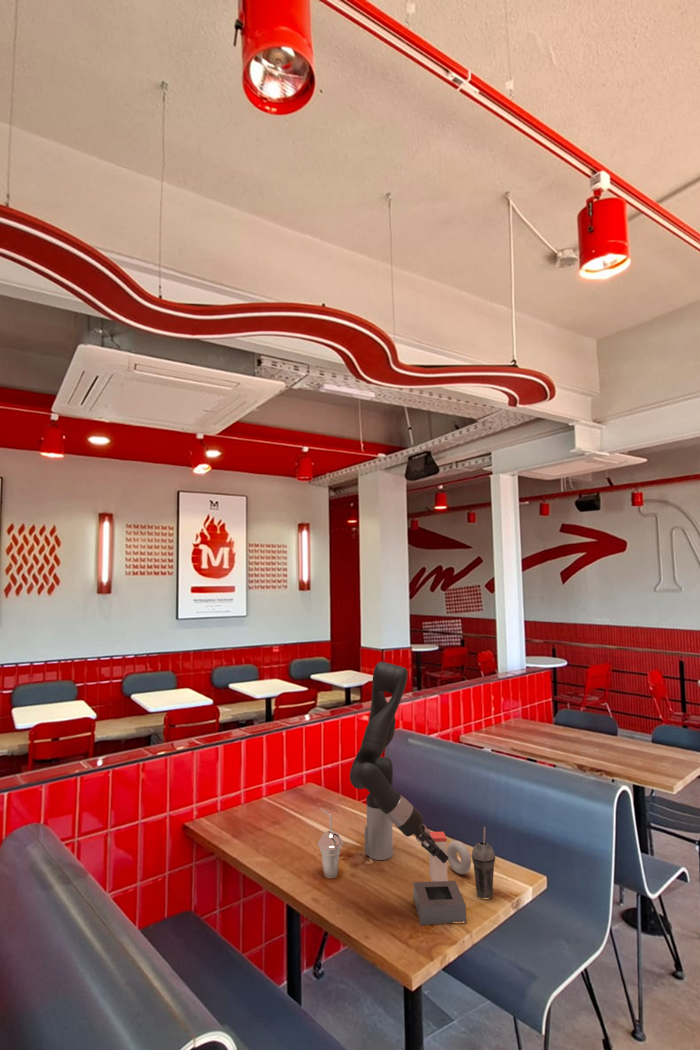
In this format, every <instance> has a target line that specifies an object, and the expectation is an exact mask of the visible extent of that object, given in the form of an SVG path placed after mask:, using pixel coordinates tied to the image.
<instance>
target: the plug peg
mask: <svg viewBox="0 0 700 1050" xmlns="http://www.w3.org/2000/svg"><path fill="white" fill-rule="evenodd" d="M429 834H430V835H431V836H432V837H433V839H434V840H435V843H436V844H437V845H438V846H439V847H440V849H441V850H442V851H443V852H444V853H445V854H446V855H447V848H448V846H447V845H448V842H447V836H446V834H445V832H444V831H430V833H429ZM430 841H432V840H430ZM434 849H435V848H433V849H432V850H434ZM428 853H429V852H428ZM428 859H429V876H430V879H431V882H434V881H448V860H447V861H446V862H445V863H443V862H442V861H441V860H440V859H439V858H438V857H437V856H436V855H435V856H432V854H430V853H429V858H428Z"/></svg>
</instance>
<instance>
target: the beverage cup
mask: <svg viewBox="0 0 700 1050" xmlns="http://www.w3.org/2000/svg"><path fill="white" fill-rule="evenodd" d="M471 858H472V859H471V861H472V864H473V871H474V872H473V873H474V881H475V891H476V896H477V897H478V898H479V897H480V898H490V897H493V889H494V870H495V869H494V867H495V862H496V855H495V851H494V848H493V847H492V845H490V844H489V843H487V842H486V826H483V841H480V842H477V843H476V844H475V845H474V846H473V848H472V851H471ZM480 898H479V899H480Z"/></svg>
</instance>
